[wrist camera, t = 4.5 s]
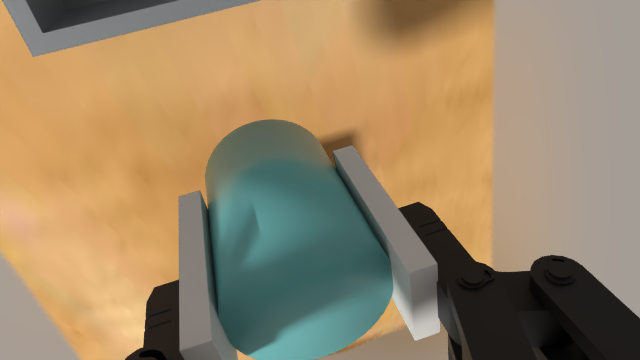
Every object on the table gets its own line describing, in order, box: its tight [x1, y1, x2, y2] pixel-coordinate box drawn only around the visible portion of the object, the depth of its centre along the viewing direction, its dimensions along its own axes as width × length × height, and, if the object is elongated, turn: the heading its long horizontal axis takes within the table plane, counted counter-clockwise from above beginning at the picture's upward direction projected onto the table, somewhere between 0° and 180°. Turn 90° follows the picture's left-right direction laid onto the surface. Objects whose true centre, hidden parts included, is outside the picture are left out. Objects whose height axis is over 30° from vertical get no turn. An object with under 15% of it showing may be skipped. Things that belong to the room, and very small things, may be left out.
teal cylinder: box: [205, 120, 394, 360], centre depth 15 cm, size 5×5×7 cm
